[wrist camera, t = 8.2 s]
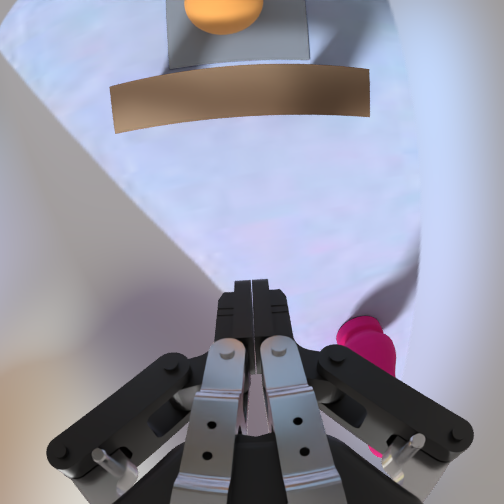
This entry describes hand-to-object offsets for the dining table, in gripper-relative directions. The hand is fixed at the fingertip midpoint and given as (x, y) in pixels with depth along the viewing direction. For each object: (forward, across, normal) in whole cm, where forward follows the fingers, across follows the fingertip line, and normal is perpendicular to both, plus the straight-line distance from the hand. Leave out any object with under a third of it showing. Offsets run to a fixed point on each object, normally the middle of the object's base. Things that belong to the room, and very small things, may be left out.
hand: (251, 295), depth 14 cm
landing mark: (+16, 0, -18) cm, 24 cm away
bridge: (+16, 0, -9) cm, 18 cm away
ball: (+13, +1, -17) cm, 21 cm away
